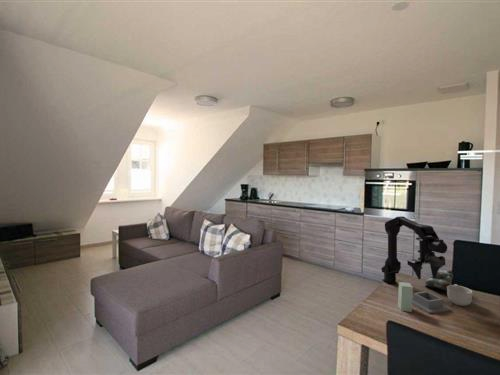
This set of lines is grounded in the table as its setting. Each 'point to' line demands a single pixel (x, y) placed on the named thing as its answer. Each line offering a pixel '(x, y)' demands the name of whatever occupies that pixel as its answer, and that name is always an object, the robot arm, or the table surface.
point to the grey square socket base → (429, 302)
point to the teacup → (459, 295)
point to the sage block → (405, 296)
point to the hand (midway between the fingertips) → (426, 278)
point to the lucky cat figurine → (440, 280)
